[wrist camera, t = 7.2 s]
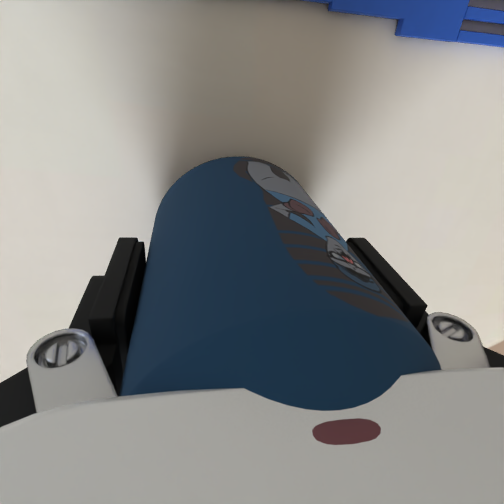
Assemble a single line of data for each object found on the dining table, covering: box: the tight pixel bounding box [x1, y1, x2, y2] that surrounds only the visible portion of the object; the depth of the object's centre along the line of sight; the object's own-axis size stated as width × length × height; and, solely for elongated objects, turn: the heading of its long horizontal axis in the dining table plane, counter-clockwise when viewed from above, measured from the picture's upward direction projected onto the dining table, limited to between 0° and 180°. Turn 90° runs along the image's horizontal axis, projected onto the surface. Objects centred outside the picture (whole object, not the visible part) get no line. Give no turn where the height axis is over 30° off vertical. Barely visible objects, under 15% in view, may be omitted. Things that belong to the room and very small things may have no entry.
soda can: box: [119, 157, 442, 445], centre depth 10 cm, size 7×7×12 cm
